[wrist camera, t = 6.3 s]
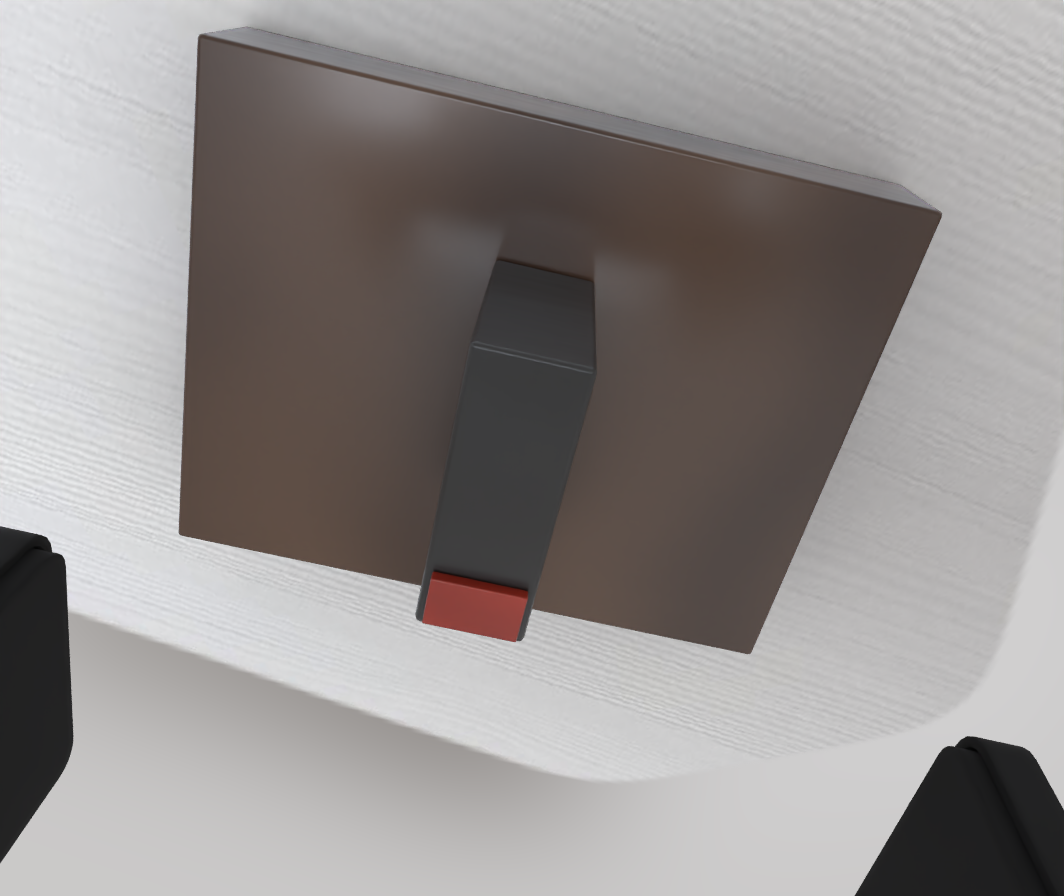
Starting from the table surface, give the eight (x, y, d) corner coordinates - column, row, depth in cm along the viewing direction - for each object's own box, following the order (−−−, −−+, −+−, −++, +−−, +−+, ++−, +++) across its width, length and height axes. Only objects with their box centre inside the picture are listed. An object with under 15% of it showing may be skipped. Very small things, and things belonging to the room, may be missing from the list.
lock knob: (496, 258, 18) (467, 347, 13) (595, 280, 18) (598, 376, 13) (447, 493, 20) (411, 630, 16) (534, 512, 20) (521, 653, 16)
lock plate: (903, 184, 19) (945, 213, 17) (735, 593, 24) (751, 656, 22) (243, 25, 18) (196, 32, 16) (215, 482, 23) (176, 536, 21)
